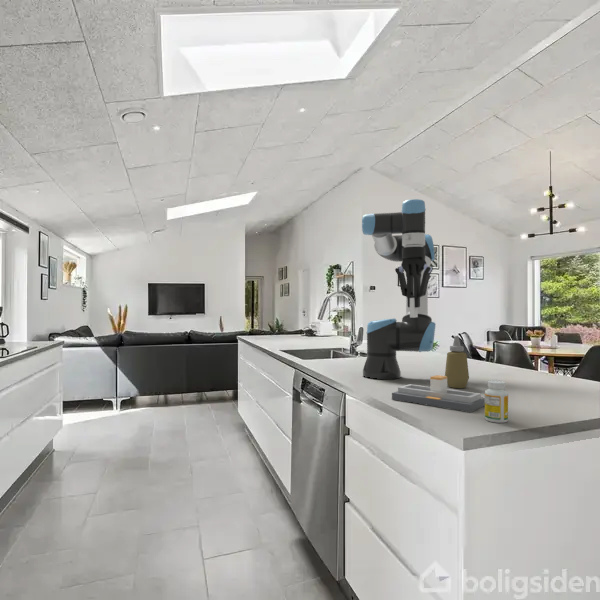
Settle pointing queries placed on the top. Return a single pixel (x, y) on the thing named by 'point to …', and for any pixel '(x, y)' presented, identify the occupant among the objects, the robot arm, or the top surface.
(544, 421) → the top surface
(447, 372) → the squeeze bottle
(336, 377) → the top surface
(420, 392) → the console board
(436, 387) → the fader tab
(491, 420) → the supplement bottle
